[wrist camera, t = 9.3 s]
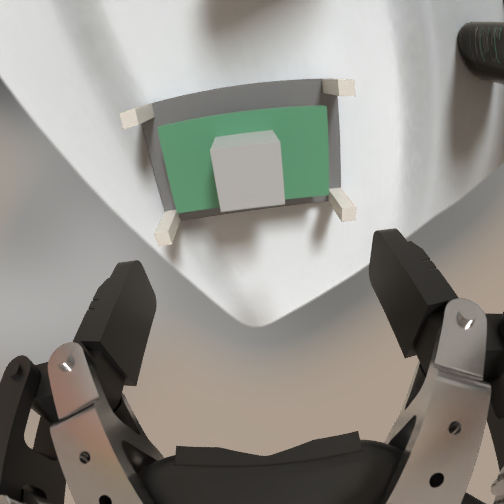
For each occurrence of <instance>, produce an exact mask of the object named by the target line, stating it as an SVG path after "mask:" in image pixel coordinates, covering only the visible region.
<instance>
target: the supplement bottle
mask: <svg viewBox="0 0 504 504" xmlns="http://www.w3.org/2000/svg"><path fill="white" fill-rule="evenodd" d="M459 48H460V52H461V55H462V58H463V60H464V62H465V64H466V65H467V67H468V68H469V70H470V71H471V72H472V73H473V74H474V75H475V76H477V77H478V78H480V79H483V80H487V81H491V82H495V83H499V84H503V85H504V22H470V23H466V24H465V25H464V26H463V27H462V28H461V30H460V33H459Z"/></svg>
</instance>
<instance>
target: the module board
mask: <svg viewBox="0 0 504 504" xmlns="http://www.w3.org/2000/svg"><path fill="white" fill-rule="evenodd" d="M157 129H158V134H159V139H160V144H161V148H162V153H163V157H164V162H165V166H166V170H167V174H168V179H169V183H170V187H171V191H172V195H173V199H174V203H175V207H176V211H177V213H184V212H190V211H197V210H204V209H211V208H218V207H220V210H221V212H225V211H233V210H241V209H249V208H257V207H266V206H275V205H284V204H285V199H294V198H304V197H314V196H325V195H329V145H328V120H327V107H326V106H324V105H315V106H293V107H279V108H267V109H257V110H248V111H240V112H232V113H225V114H218V115H212V116H206V117H200V118H195V119H189V120H184V121H179V122H174V123H170V124H165V125H161V126H159V127H158V128H157Z"/></svg>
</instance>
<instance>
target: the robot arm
mask: <svg viewBox="0 0 504 504" xmlns="http://www.w3.org/2000/svg"><path fill="white" fill-rule="evenodd" d="M369 277H370V281H371V284H372V287H373V289H374V291H375V293H376V295H377V297H378V299H379V301H380V303H381V305H382V307H383V309H384V312H385V313H386V316H387V318H388V320H389V322H390V325H391V327H392V329H393V331H394V334H395V336H396V338H397V341H398V343H399V345H400V348H401V350H402V352H403V355H404V357H405V358H408V357H411V356H415V355H417V356H418V359H419V363H418V365H417V367H416V370H415V373H414V376H413V379H412V382H411V385H410V388H409V391H408V394H407V396H406V399H405V402H404V404H403V407H402V410H401V412H400V414H399V416H398V418H397V420H396V422H395V423H394V425H393V427H392V429H391V431H390V432H389V434H388V436H387V439H386V441H385V443H382V442H377V441H371V440H360V438H359V434H358V431H356V432H352V433H348V434H343V435H338V436H333V437H328V438H322V439H316V440H312V441H310V442H307V443H304V444H302V445H299V446H296V447H294V448H291V449H288V450H285V451H282V452H279V453H276V454H273V455H270V456H259V455H253V454H248V453H242V452H237V451H233V450H228V449H224V448H219V447H185V446H176V455H174V456H170V457H167V458H164V457H163V455H162V454H161V453H160V452H159V451H158V449H157V448H156V447H155V446H154V445H153V444H152V443H151V442H150V440H149V439H148V438H147V436H146V434H145V433H144V431H143V429H142V427H141V426H140V424H139V422H138V420H137V418H136V416H135V415H134V413H133V411H132V409H131V407H130V405H129V403H128V401H127V399H126V397H125V395H124V394H123V393H122V390H123V386H124V385H128V386H136V385H137V381H138V376H139V372H140V368H141V364H142V360H143V356H144V352H145V348H146V344H147V340H148V336H149V333H150V329H151V325H152V322H153V318H154V315H155V311H156V297H155V293H154V291H153V289H152V286H151V284H150V282H149V280H148V277H147V275H146V273H145V270H144V268H143V266H142V264H141V263H140V261H138V260H137V261H129V262H121V263H118V264H117V265H116V267H115V269H114V271H113V273H112V275H111V276H110V278H108V279H107V280H106V281H105V282H104V283H103V284H102V285H101V286H100V287H99V288H98V290H97V292H96V294H95V296H94V298H93V301H92V302H91V304H90V306H89V310H87V312H86V314H85V316H84V318H83V320H82V323H81V325H80V327H79V329H78V331H77V333H76V336H75V338H74V340H73V342H69V343H65V344H63V345H61V346H60V347H58V348H57V349H56V350H55V351H54V352H53V354H52V355H51V357H50V359H49V362H46V363H42V364H39V365H34V364H33V363H32V362H31V361H30V360H29V359H28V358H27V357H26V356H23V355H22V356H18V357H16V358H14V359H13V360H12V361H11V362H10V363H9V364H8V366H7V367H6V370H5V372H4V374H3V377H2V380H1V382H0V504H64V496H65V486H66V482H67V484H68V487H69V489H70V491H71V494H72V496H73V498H74V501H75V503H76V504H485V503H484V502H482V501H480V500H478V499H477V498H475V497H473V496H471V495H469V494H468V493H466V489H467V486H468V484H469V481H470V478H471V476H472V472H473V470H474V466H475V463H476V460H477V457H478V453H479V449H480V446H481V442H482V437H483V433H484V429H485V425H486V420H487V422H488V426H489V429H490V433H491V436H492V439H493V443H494V447H495V452H496V456H497V460H498V465H499V469H500V473H499V475H498V478H497V479H496V480H495V481H494V482H493V484H492V486H491V492H492V494H494V495H496V497H495V501H494V503H493V504H504V312H503V314H485V313H484V311H483V310H482V309H481V307H480V306H478V305H477V304H476V303H474V302H473V301H471V300H468V299H464V298H458V297H457V295H456V294H455V292H454V291H453V289H452V288H451V286H450V285H449V284H448V283H447V281H446V279H445V278H444V277H443V276H442V274H441V273H440V271H439V270H438V269H436V266H435V265H434V263H433V262H432V261H430V258H429V257H428V255H427V254H426V253H425V252H424V250H423V249H422V248H420V247H419V246H417V245H416V244H414V243H413V242H411V241H409V242H407V241H406V239H405V238H404V237H403V236H402V234H401V233H400V232H399V231H398V230H397V229H387V230H378V231H375V232H374V235H373V242H372V250H371V257H370V264H369ZM30 409H33V410H34V411H35V412H36V413H38V414H39V415H40V416H41V417H40V421H39V425H38V429H37V433H36V438H35V442H34V447H33V449H31V448H29V447H28V446H27V445H26V443H25V440H24V432H25V428H26V424H27V420H28V416H29V413H30Z"/></svg>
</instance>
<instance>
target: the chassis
mask: <svg viewBox="0 0 504 504" xmlns="http://www.w3.org/2000/svg"><path fill="white" fill-rule="evenodd" d="M337 96H355V82H354V80H350V79H303V80H286V81H273V82H263V83H254V84H246V85H239V86H232V87H225V88H219V89H213V90H208V91H203V92H198V93H193V94H188V95H183V96H179V97H175V98H171V99H167V100H163V101H159V102H155V103H151V104H148V105H144V106H141V107H138V108H135V109H132V110H129V111H126V112H123V113H120V117H121V121H122V126H123V129H126V128H130V127H133V126H137V125H139V124H141V123H142V126H143V130H144V135H145V139H146V143H147V147H148V151H149V155H150V159H151V163H152V167H153V170H154V174H155V178H156V182H157V185H158V189H159V192H160V196H161V199H162V203H163V206H164V210H165V212H164V215H163V217H162V219H161V221H160V223H159V225H158V227H157V229H156V231H155V233H154V235H155V238H156V241H157V244H158V246H165V245H172V243H173V240H174V238H175V235H176V232H177V229H178V226H179V224H180V221H182V220H189V219H195V218H201V217H208V216H214V215H221V214H228V213H235V212H242V211H249V210H257V209H264V208H272V207H280V206H288V205H296V204H305V203H314V202H323V201H329V203H330V204H331V206H332V207H333V209H334V211H335V212H336V214H337V215H338V217H339V218H340V220H341V222H345V221H353V220H356V206H355V205H354V203H353V202H352V201H351V200H350V198H349V197H348V196H347V195H346V193H345V192H344V191H343V190H342V189H341V163H340V131H339V112H338V98H337ZM315 105H324V106H326V107H327V120H328V145H329V195H325V196H314V197H304V198H294V199H285V204H284V205H275V206H266V207H257V208H249V209H241V210H233V211H225V212H221V210H220V207H218V208H211V209H204V210H197V211H190V212H184V213H177V211H176V207H175V203H174V199H173V195H172V191H171V187H170V183H169V179H168V174H167V170H166V166H165V162H164V157H163V153H162V148H161V144H160V139H159V134H158V129H157V128H158V127H159V126H161V125H165V124H170V123H174V122H179V121H184V120H189V119H195V118H200V117H206V116H212V115H218V114H225V113H232V112H240V111H248V110H257V109H267V108H279V107H293V106H315Z"/></svg>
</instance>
